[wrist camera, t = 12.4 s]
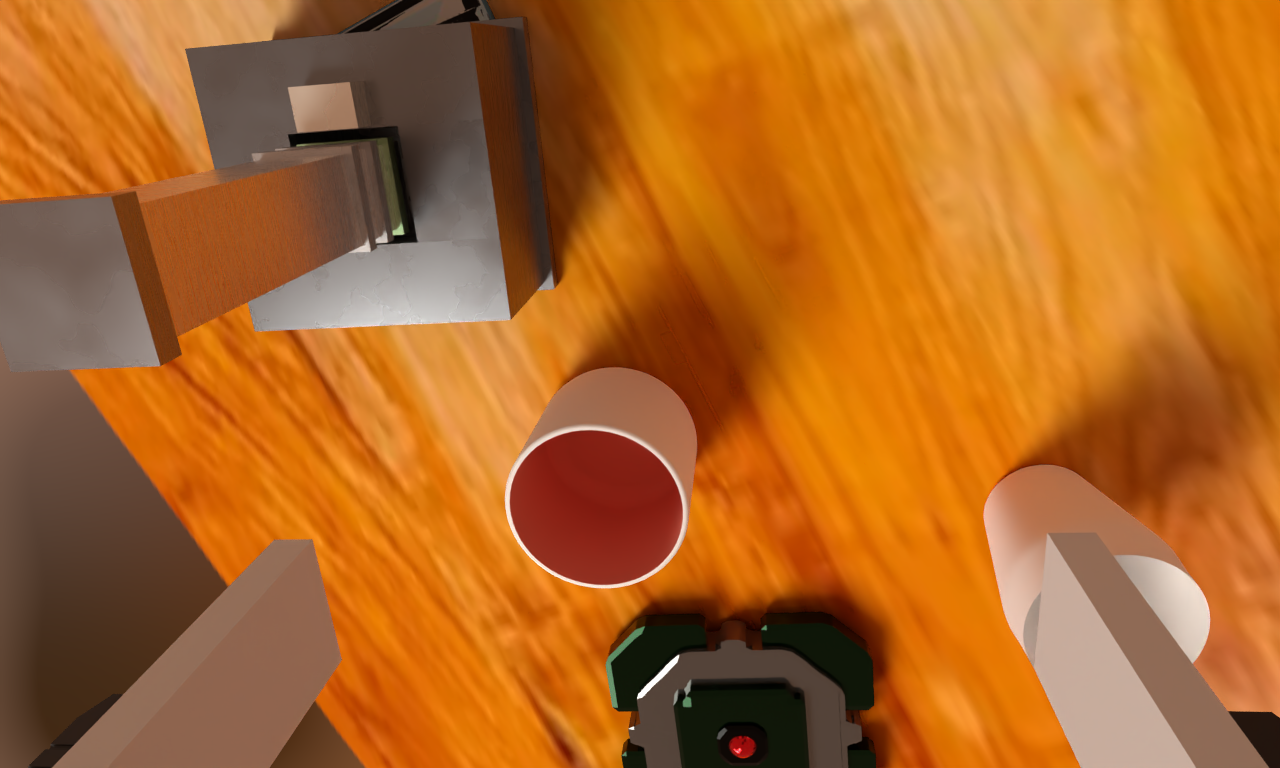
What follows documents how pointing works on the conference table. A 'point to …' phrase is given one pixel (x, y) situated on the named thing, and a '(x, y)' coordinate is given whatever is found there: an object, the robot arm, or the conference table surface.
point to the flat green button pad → (743, 693)
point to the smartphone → (423, 14)
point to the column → (184, 250)
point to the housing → (431, 161)
